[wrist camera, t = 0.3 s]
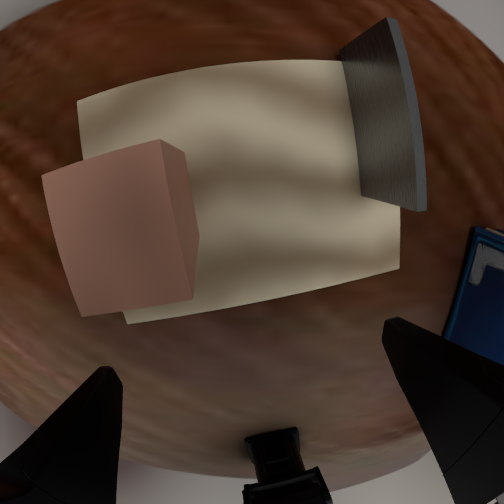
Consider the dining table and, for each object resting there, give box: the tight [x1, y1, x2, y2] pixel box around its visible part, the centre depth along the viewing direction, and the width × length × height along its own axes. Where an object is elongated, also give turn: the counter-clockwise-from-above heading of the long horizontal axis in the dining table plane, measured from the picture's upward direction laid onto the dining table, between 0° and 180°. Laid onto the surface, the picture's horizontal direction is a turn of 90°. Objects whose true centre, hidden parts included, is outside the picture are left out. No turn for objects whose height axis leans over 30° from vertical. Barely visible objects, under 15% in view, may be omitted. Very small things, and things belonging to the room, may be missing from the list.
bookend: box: [339, 17, 427, 212], centre depth 16 cm, size 12×3×7 cm, turn 9°
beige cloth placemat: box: [77, 60, 400, 324], centre depth 20 cm, size 18×24×1 cm
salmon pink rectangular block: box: [42, 139, 200, 317], centre depth 14 cm, size 6×5×10 cm
